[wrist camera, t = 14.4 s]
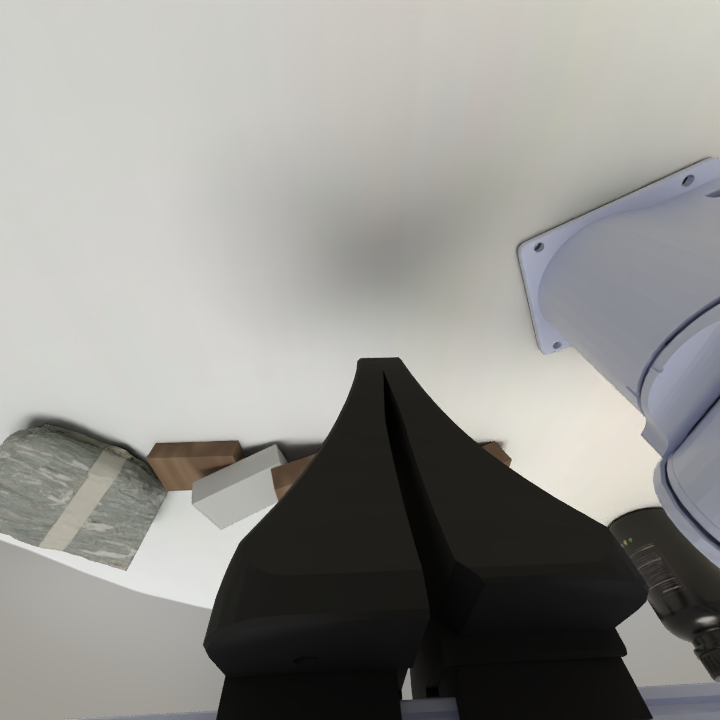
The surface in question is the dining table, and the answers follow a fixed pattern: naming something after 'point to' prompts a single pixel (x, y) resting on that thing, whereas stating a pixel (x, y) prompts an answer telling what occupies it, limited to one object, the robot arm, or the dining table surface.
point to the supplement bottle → (675, 580)
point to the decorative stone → (76, 495)
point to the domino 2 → (238, 488)
